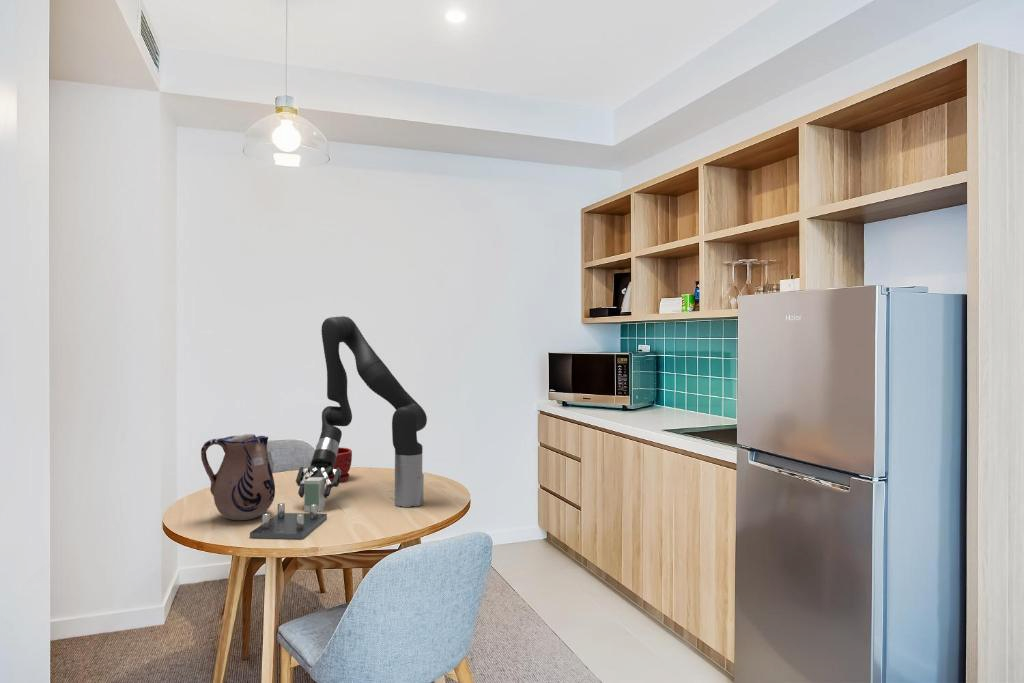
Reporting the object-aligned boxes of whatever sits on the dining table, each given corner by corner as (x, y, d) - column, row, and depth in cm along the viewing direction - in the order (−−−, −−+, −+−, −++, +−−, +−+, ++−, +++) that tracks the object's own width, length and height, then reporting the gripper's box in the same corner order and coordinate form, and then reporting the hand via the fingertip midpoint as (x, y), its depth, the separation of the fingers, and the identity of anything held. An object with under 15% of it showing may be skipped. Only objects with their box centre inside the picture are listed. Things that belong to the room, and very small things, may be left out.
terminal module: (324, 507, 208) (325, 477, 208) (319, 512, 203) (319, 481, 203) (309, 507, 208) (310, 477, 208) (303, 511, 203) (304, 480, 203)
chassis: (326, 518, 195) (326, 501, 195) (302, 539, 175) (302, 519, 175) (279, 517, 196) (279, 499, 196) (249, 538, 176) (249, 518, 176)
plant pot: (310, 481, 245) (310, 450, 245) (336, 475, 256) (337, 446, 256) (332, 486, 238) (332, 454, 238) (358, 479, 249) (359, 449, 249)
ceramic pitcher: (279, 520, 193) (279, 438, 193) (202, 530, 183) (203, 444, 183) (270, 506, 209) (270, 431, 208) (199, 515, 198) (199, 435, 198)
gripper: (302, 447, 213) (288, 490, 202) (343, 448, 213) (332, 490, 201) (307, 460, 219) (294, 502, 207) (348, 460, 218) (337, 503, 207)
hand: (313, 496), depth 204 cm, fingers open, 7 cm apart
